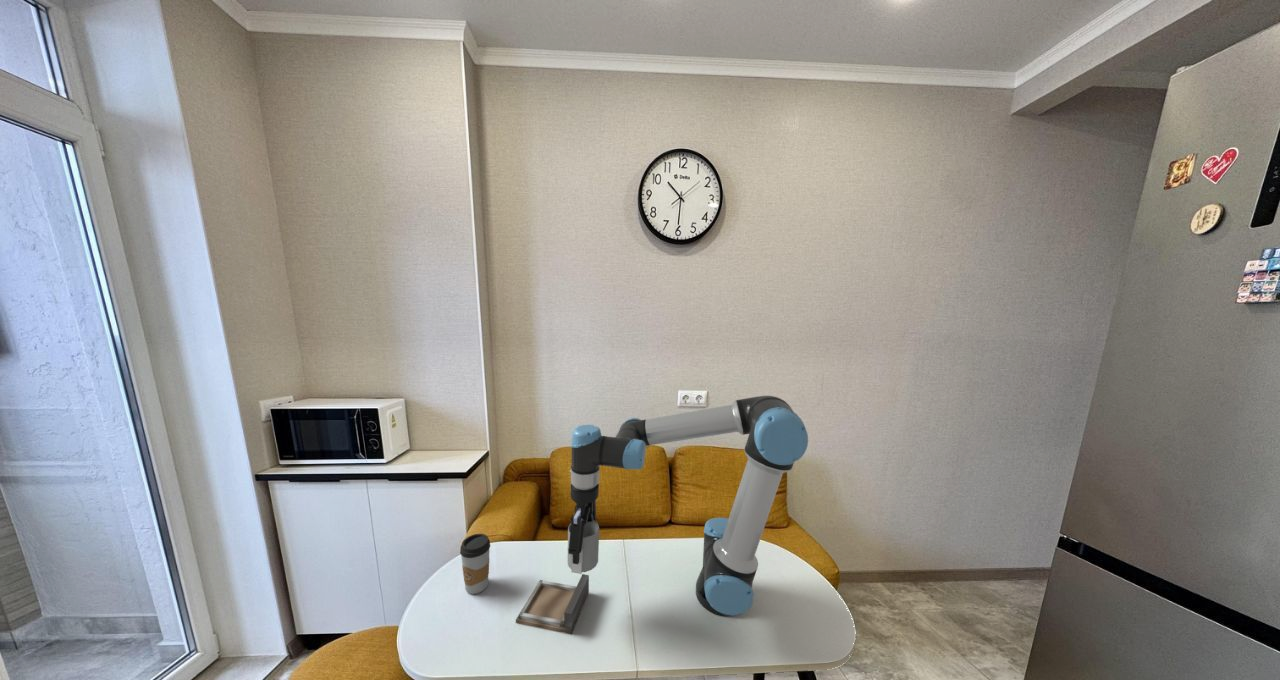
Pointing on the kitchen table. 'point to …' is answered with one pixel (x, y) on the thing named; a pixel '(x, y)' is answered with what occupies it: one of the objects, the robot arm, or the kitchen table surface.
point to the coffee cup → (475, 562)
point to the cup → (588, 546)
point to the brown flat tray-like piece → (555, 605)
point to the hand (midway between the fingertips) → (582, 560)
